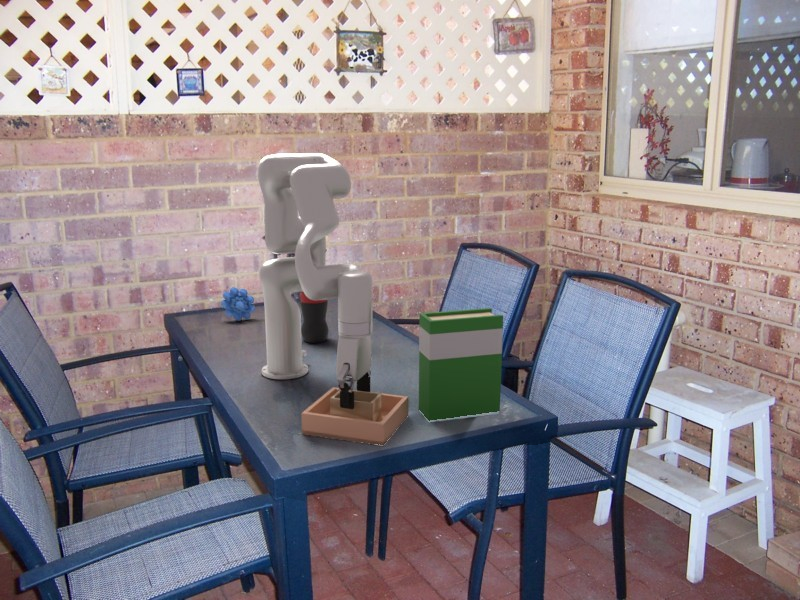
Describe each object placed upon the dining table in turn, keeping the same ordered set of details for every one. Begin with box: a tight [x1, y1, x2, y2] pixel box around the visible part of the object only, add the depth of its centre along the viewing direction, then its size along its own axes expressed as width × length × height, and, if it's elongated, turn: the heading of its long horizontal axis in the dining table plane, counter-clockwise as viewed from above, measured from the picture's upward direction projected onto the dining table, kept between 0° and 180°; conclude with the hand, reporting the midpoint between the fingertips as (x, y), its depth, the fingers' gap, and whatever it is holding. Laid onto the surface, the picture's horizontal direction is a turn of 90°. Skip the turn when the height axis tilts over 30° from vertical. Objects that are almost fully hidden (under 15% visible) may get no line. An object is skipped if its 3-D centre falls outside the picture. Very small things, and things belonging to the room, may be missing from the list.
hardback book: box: [418, 307, 504, 421], centre depth 171 cm, size 18×7×24 cm, turn 107°
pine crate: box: [330, 389, 382, 422], centre depth 166 cm, size 6×10×6 cm, turn 72°
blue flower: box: [220, 286, 256, 322], centre depth 250 cm, size 12×7×12 cm, turn 114°
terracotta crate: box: [300, 386, 409, 446], centre depth 166 cm, size 17×19×5 cm
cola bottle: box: [300, 292, 329, 344], centre depth 227 cm, size 8×8×30 cm
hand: (355, 400), depth 165 cm, fingers open, 9 cm apart
